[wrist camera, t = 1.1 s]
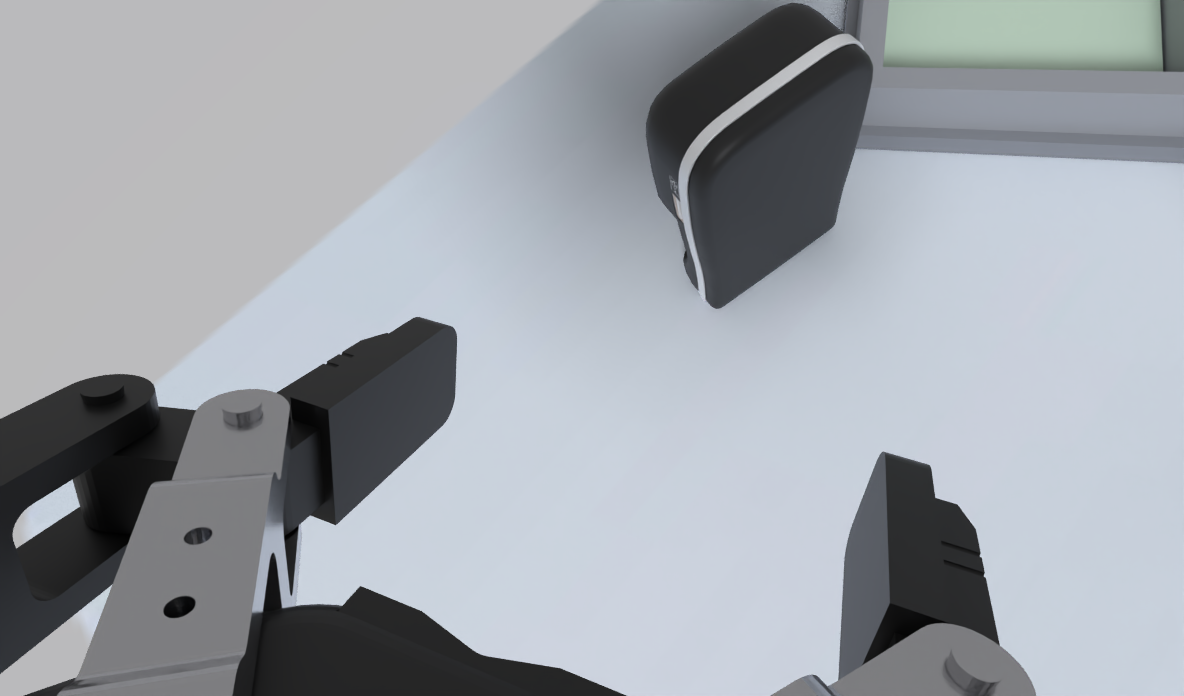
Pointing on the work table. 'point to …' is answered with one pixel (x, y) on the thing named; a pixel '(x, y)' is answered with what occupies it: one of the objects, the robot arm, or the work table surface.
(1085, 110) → the tray
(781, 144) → the battery charger
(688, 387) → the work table surface
